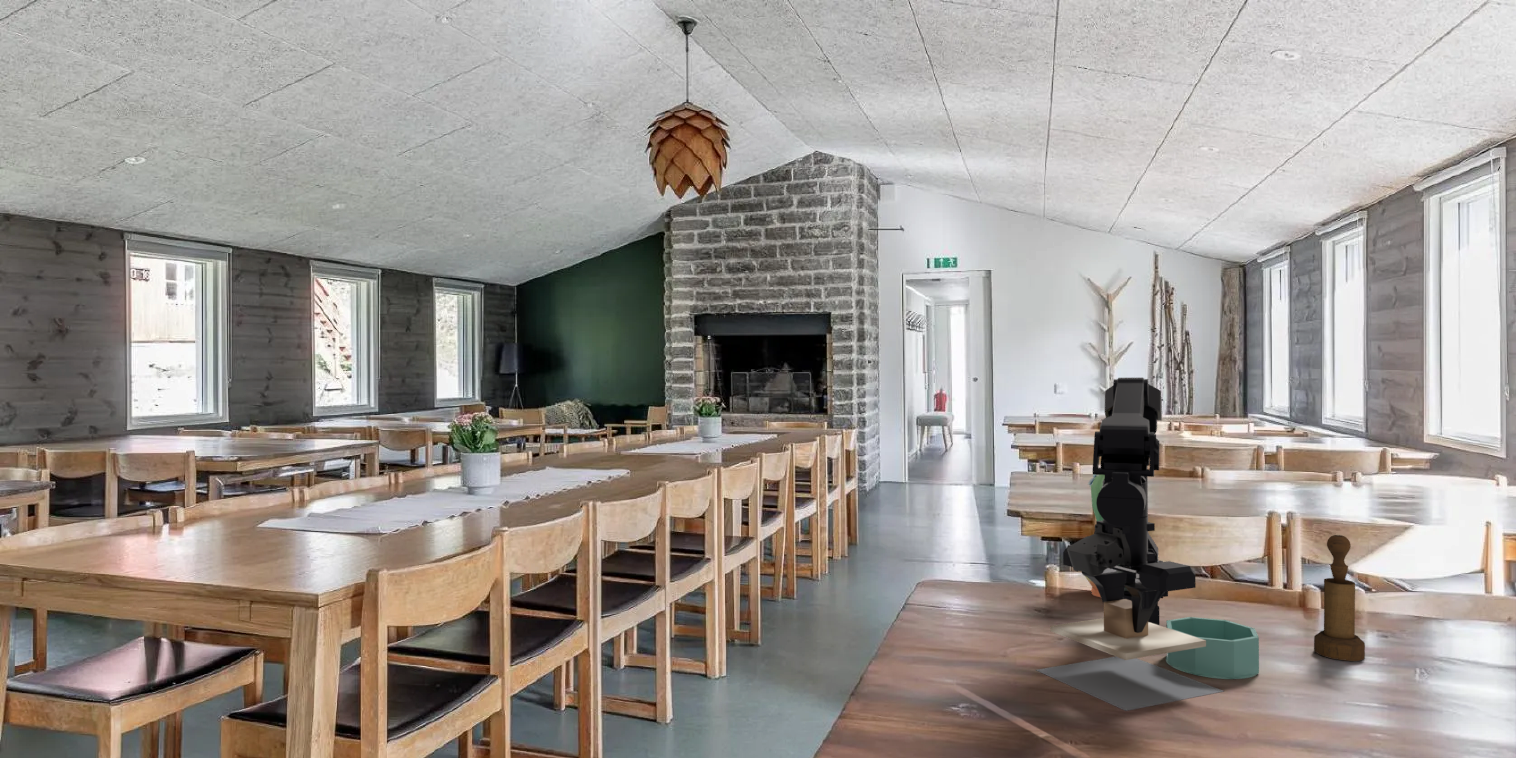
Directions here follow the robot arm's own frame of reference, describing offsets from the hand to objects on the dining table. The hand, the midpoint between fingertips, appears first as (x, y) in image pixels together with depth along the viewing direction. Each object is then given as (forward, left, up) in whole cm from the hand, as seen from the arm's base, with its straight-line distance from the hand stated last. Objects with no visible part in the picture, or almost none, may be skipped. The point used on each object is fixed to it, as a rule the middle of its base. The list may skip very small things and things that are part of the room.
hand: (1125, 628), depth 124 cm
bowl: (0, +16, -8) cm, 18 cm away
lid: (0, 0, -2) cm, 2 cm away
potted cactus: (-39, +36, -8) cm, 54 cm away
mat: (0, 0, -8) cm, 8 cm away
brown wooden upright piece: (+3, +39, -8) cm, 40 cm away
